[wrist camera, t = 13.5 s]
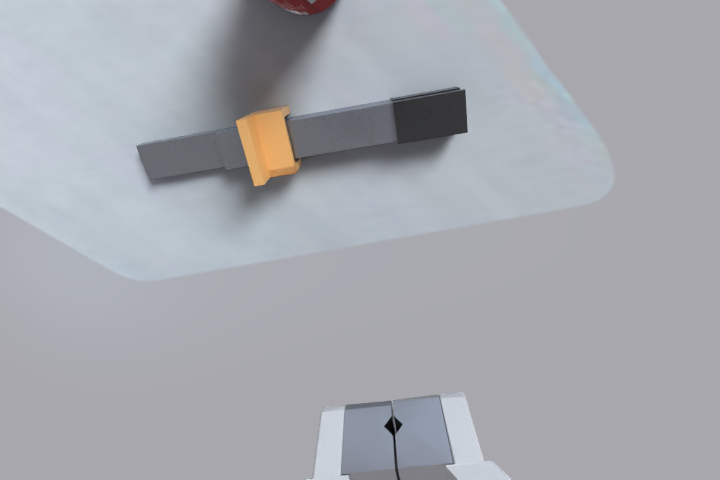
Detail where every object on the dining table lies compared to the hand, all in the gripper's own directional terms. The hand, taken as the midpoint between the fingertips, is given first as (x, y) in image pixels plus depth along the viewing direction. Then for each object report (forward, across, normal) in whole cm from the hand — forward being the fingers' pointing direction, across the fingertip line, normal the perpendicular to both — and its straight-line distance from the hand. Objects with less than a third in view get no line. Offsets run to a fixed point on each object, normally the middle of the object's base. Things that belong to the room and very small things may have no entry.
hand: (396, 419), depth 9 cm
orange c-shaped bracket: (+29, +8, -2) cm, 30 cm away
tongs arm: (+28, +3, -2) cm, 28 cm away
